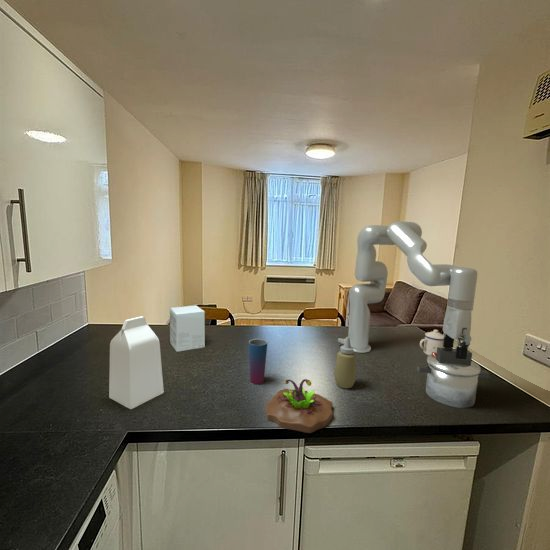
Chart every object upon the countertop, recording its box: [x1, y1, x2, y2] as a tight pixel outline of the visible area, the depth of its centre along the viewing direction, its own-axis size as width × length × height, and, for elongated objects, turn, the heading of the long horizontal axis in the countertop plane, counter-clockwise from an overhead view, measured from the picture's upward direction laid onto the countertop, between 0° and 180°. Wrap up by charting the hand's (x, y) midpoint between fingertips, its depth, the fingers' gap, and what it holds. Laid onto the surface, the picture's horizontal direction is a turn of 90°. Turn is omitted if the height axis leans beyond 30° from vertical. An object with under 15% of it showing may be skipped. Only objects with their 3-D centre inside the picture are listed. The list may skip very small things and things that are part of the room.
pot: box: [416, 363, 490, 409], centre depth 108 cm, size 23×15×11 cm, turn 83°
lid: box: [426, 347, 482, 376], centre depth 107 cm, size 16×16×6 cm
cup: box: [248, 338, 269, 385], centre depth 113 cm, size 7×7×15 cm
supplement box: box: [169, 304, 206, 353], centre depth 146 cm, size 13×13×18 cm
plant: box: [265, 378, 334, 434], centre depth 95 cm, size 20×20×11 cm
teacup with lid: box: [419, 329, 444, 356], centre depth 146 cm, size 12×9×12 cm
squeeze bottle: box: [333, 336, 357, 389], centre depth 112 cm, size 8×8×18 cm
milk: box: [108, 315, 165, 410], centre depth 100 cm, size 12×12×26 cm
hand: (453, 352), depth 106 cm, fingers open, 9 cm apart
